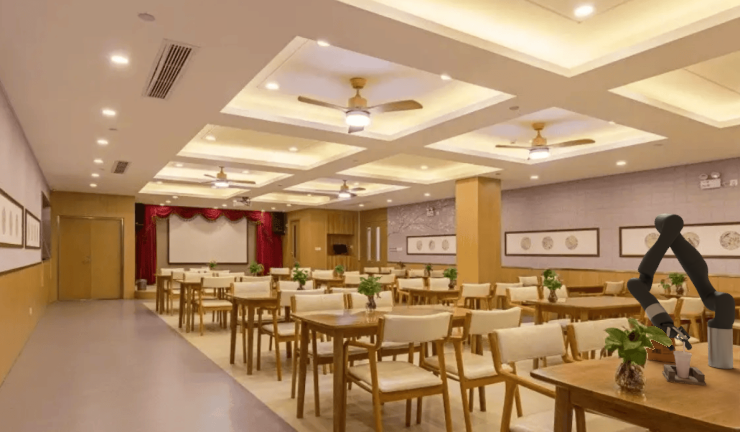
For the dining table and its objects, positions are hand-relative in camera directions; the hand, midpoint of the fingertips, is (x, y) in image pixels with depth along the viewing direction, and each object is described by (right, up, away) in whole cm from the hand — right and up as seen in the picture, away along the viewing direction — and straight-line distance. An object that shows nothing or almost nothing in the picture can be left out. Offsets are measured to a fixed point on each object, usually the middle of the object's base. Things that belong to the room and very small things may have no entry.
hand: (681, 349), depth 204 cm
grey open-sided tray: (0, -12, -1) cm, 12 cm away
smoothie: (0, -11, -1) cm, 11 cm away
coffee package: (+10, -14, +32) cm, 36 cm away
